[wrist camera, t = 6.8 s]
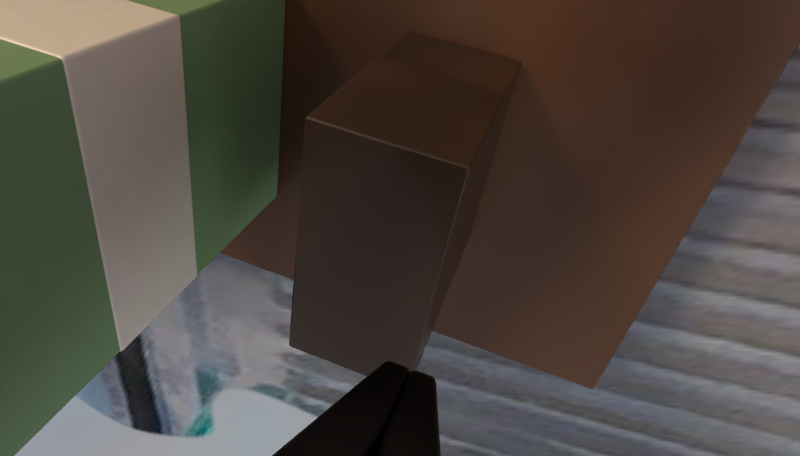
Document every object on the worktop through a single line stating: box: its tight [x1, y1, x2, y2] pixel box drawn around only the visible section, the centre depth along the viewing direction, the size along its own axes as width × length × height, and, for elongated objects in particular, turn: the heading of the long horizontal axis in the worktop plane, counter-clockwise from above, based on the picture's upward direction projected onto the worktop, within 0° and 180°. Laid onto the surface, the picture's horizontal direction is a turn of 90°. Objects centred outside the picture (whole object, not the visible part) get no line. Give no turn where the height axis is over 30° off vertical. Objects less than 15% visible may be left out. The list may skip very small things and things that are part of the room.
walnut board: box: [220, 0, 800, 389], centre depth 14 cm, size 22×14×7 cm, turn 79°
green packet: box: [0, 0, 285, 456], centre depth 12 cm, size 9×7×12 cm
